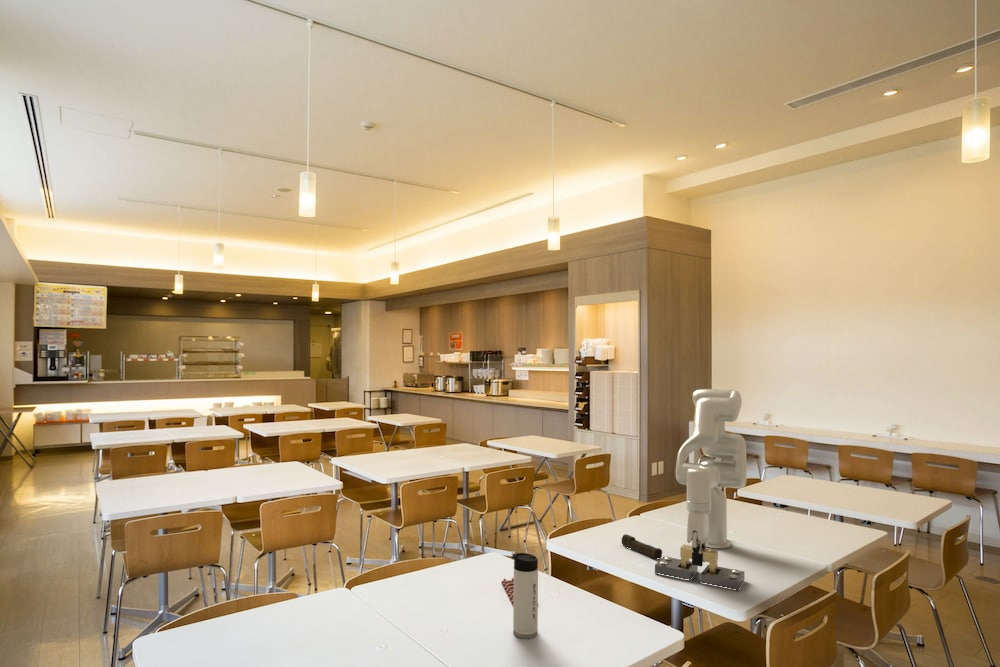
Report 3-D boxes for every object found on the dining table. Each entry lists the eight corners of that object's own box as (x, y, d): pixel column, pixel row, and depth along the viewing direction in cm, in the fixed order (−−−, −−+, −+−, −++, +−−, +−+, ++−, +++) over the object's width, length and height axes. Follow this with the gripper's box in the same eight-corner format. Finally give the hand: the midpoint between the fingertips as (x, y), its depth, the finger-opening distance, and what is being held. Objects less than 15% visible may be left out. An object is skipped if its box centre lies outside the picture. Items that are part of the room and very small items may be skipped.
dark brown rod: (663, 559, 210) (663, 546, 210) (654, 561, 208) (654, 547, 208) (627, 544, 226) (627, 532, 227) (619, 545, 225) (619, 533, 225)
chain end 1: (663, 565, 203) (663, 554, 203) (697, 571, 197) (697, 560, 197) (654, 574, 195) (654, 563, 195) (689, 581, 189) (689, 569, 189)
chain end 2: (738, 591, 181) (738, 579, 181) (700, 583, 187) (700, 571, 187) (744, 581, 189) (744, 569, 189) (708, 573, 195) (708, 562, 195)
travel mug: (510, 628, 155) (511, 550, 156) (535, 627, 155) (536, 550, 156) (513, 639, 149) (513, 559, 149) (539, 638, 149) (539, 558, 150)
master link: (683, 568, 197) (683, 544, 197) (718, 575, 191) (718, 550, 191) (680, 572, 193) (680, 547, 194) (715, 579, 188) (715, 553, 188)
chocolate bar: (513, 610, 167) (514, 603, 167) (501, 584, 186) (501, 578, 186) (538, 608, 168) (538, 601, 168) (523, 583, 187) (523, 577, 187)
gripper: (693, 499, 202) (693, 554, 201) (680, 510, 188) (680, 568, 187) (716, 502, 198) (716, 558, 197) (704, 513, 184) (704, 573, 183)
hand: (699, 562), depth 192 cm, fingers closed on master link, 3 cm apart
